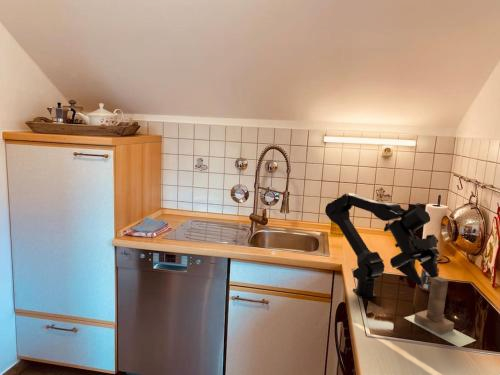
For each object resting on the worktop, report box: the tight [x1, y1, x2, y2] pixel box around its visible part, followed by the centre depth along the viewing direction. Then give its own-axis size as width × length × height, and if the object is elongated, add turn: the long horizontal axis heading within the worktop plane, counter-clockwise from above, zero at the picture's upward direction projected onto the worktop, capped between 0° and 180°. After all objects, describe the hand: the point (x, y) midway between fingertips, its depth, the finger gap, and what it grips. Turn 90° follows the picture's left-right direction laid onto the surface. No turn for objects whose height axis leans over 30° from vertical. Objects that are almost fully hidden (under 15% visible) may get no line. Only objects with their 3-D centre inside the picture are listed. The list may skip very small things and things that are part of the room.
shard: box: [366, 299, 387, 318], centre depth 126 cm, size 11×8×2 cm
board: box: [404, 314, 477, 348], centre depth 115 cm, size 18×8×1 cm, turn 31°
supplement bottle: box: [418, 261, 440, 293], centre depth 148 cm, size 6×6×11 cm
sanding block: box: [414, 275, 455, 335], centre depth 116 cm, size 9×6×15 cm, turn 31°
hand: (428, 282), depth 118 cm, fingers open, 9 cm apart
